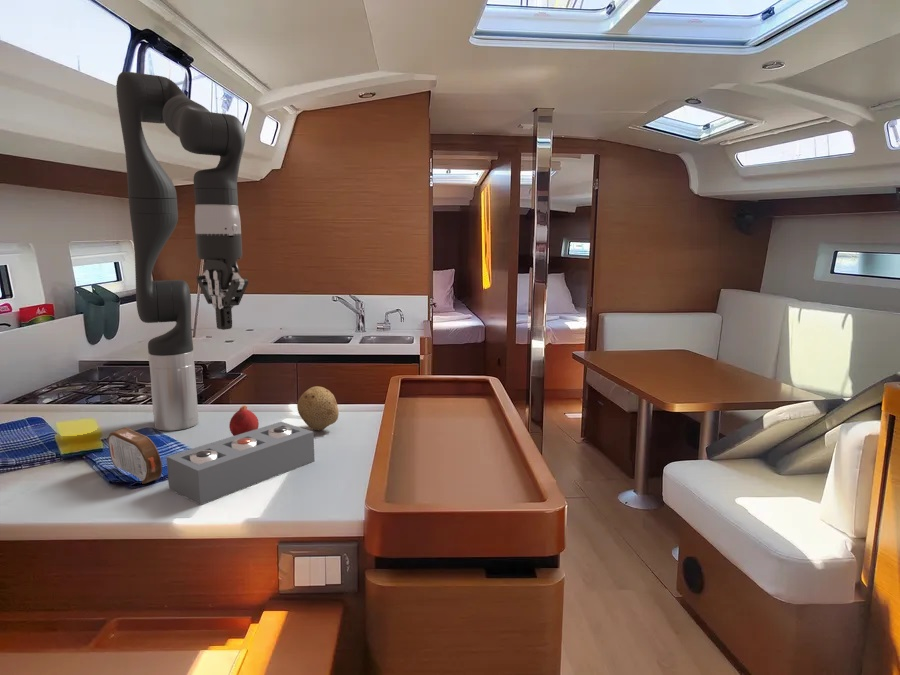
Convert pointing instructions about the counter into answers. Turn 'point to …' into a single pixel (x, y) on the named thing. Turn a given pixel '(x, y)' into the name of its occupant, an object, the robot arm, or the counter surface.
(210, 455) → the knob
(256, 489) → the counter surface
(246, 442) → the knob mid
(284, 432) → the knob
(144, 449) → the tin
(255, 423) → the onion
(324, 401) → the brown oval lump
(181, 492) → the mount
